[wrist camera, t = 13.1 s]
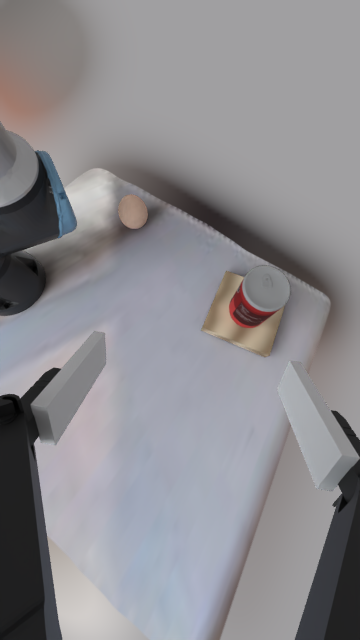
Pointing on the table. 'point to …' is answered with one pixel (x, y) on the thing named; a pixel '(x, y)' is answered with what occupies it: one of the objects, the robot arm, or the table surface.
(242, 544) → the table surface
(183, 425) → the table surface
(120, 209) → the egg
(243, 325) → the canned food
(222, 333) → the maple stand
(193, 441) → the table surface
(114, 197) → the table surface
